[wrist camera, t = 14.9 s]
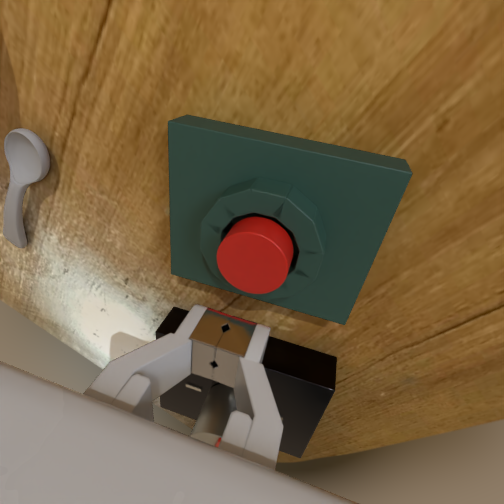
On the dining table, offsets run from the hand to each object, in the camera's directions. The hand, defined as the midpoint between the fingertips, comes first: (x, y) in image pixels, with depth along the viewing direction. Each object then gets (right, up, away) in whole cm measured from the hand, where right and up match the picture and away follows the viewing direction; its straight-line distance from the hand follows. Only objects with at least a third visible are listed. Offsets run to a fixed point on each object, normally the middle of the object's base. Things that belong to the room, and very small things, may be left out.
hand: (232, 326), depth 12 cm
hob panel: (0, -8, +16) cm, 18 cm away
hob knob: (-1, -10, +14) cm, 17 cm away
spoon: (-16, +8, +12) cm, 22 cm away
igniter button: (+1, +3, +5) cm, 6 cm away
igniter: (+2, +5, +7) cm, 9 cm away
